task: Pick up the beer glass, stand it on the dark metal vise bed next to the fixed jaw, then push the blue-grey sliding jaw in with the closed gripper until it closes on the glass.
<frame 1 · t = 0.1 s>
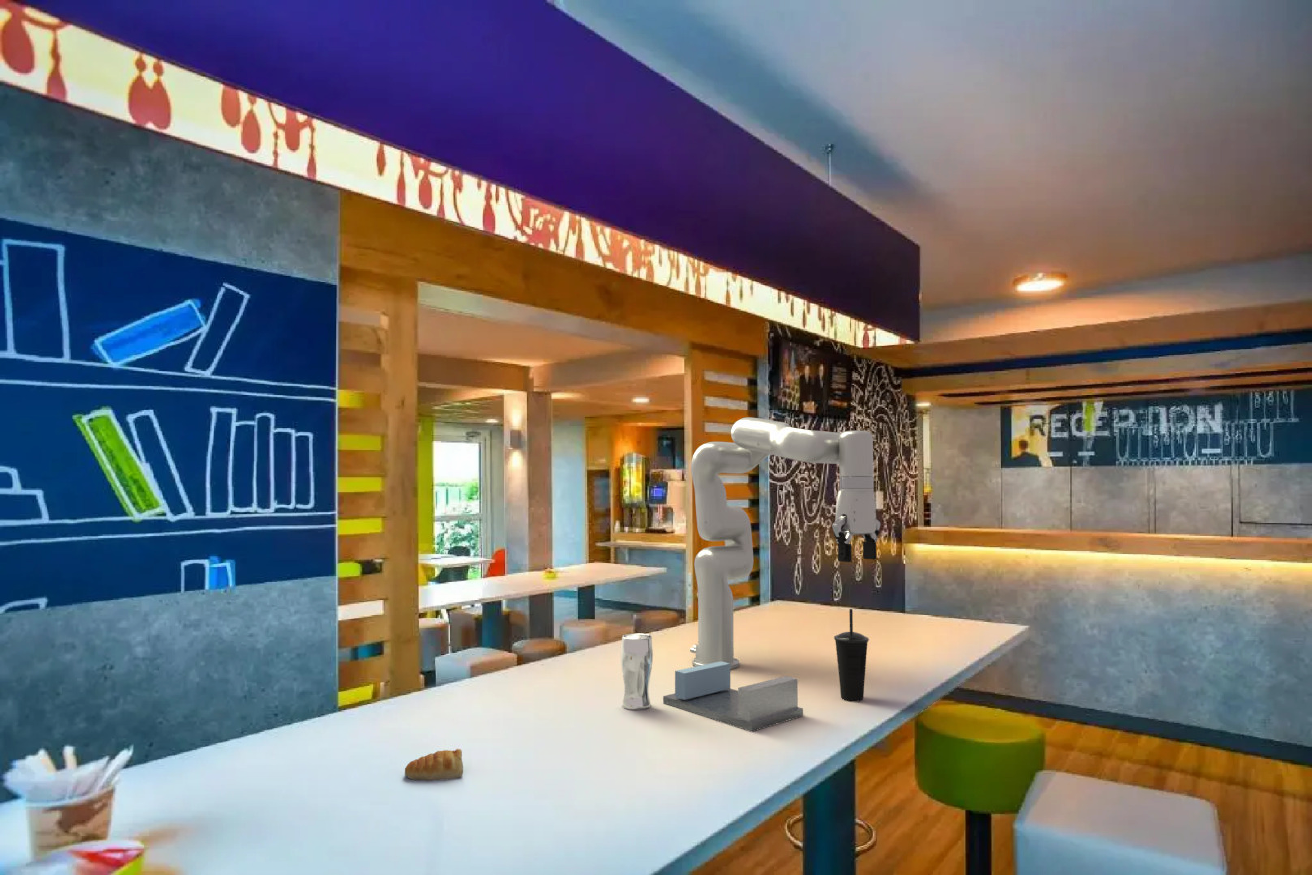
hand: (857, 560, 173), 31 cm above the table, tool pointing down, fingers open, 9 cm apart
sliding jaw: (703, 679, 170), point 5 cm above the table, slide at 0.0 cm
beer glass: (636, 707, 165), on the table
drinking cup: (852, 699, 172), on the table
vise base: (731, 709, 163), on the table
pastry: (438, 776, 126), on the table
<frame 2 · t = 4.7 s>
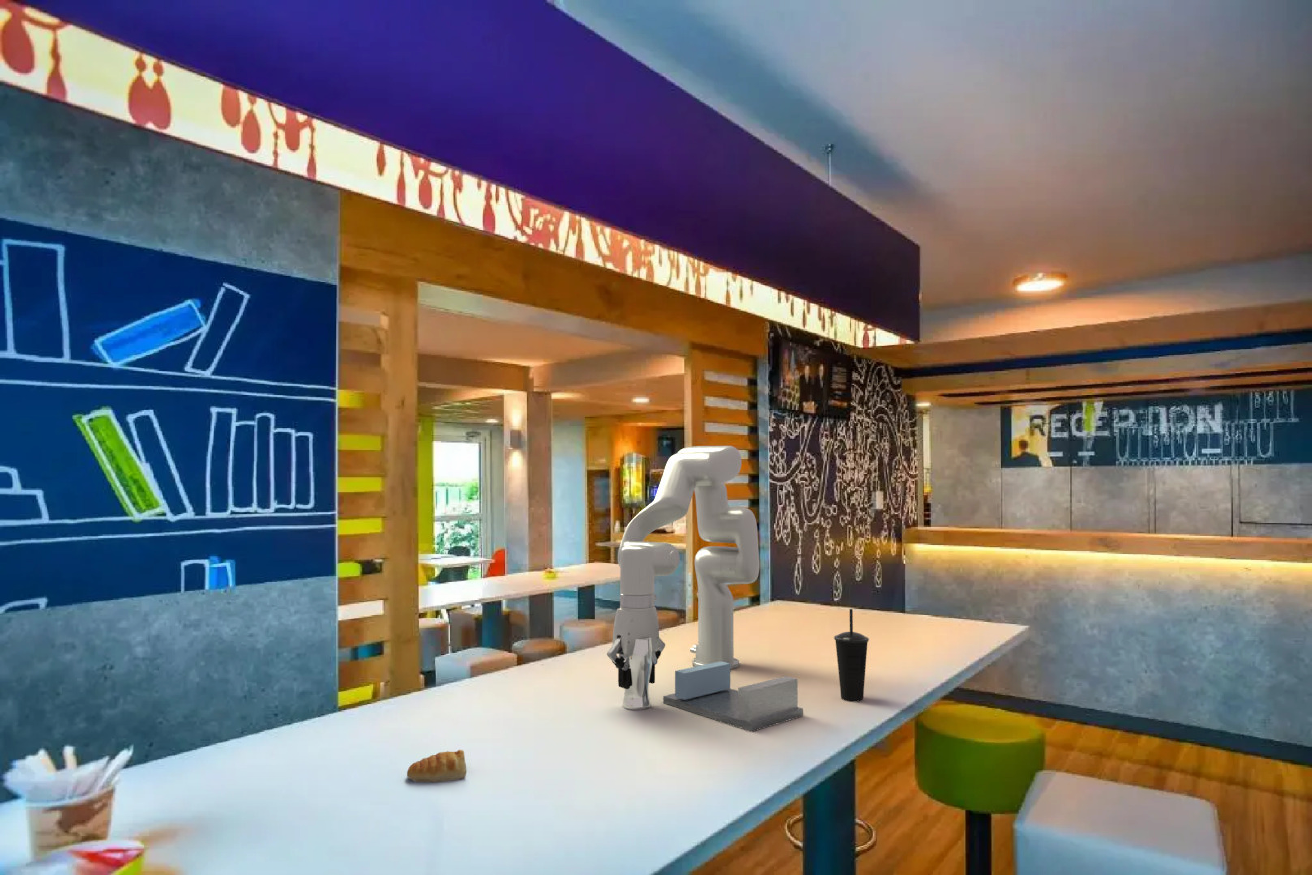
hand: (636, 684, 166), 5 cm above the table, tool pointing down, fingers closed on beer glass, 6 cm apart
beer glass: (636, 706, 165), on the table, touching gripper
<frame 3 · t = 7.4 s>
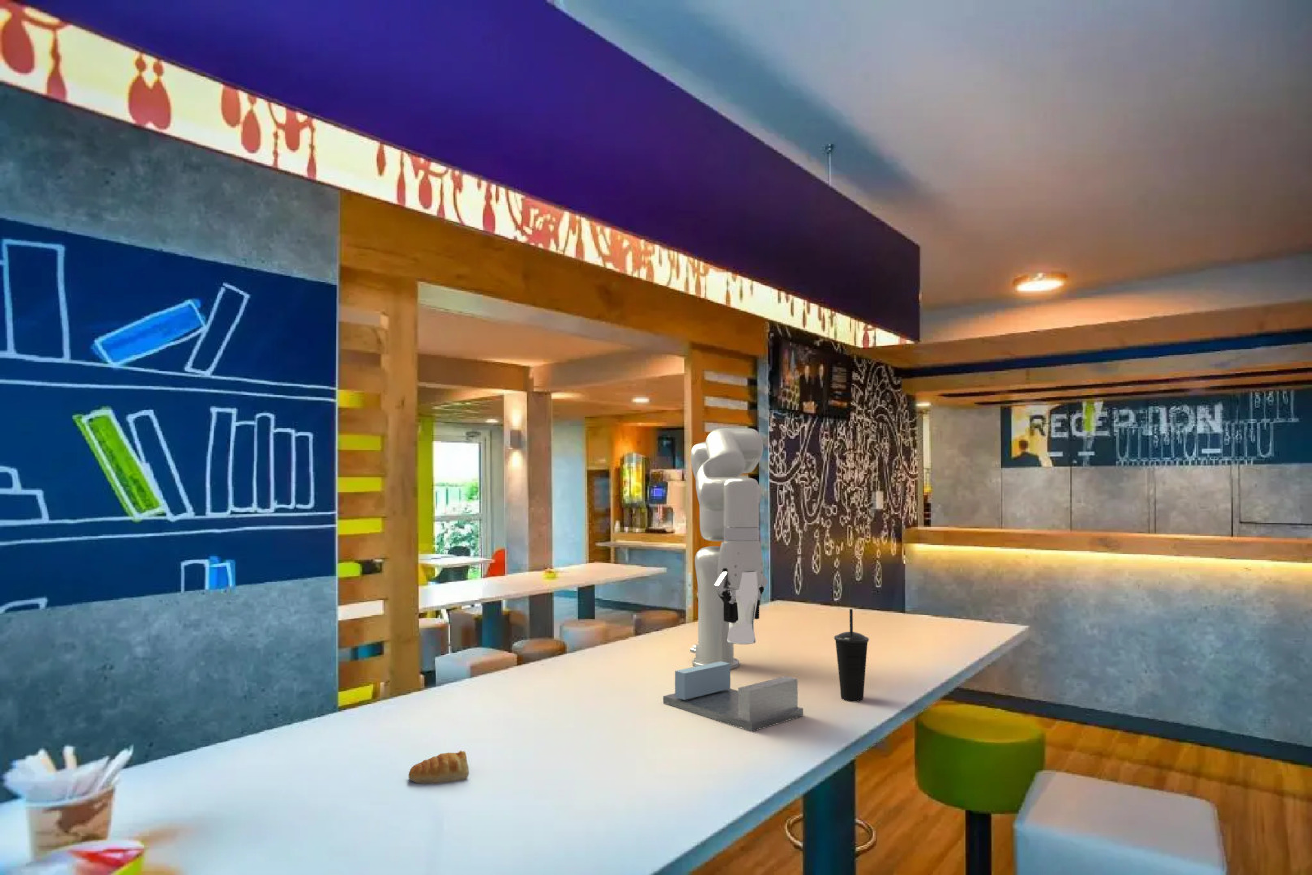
hand: (741, 619, 162), 19 cm above the table, tool pointing down, fingers closed on beer glass, 6 cm apart
beer glass: (741, 642, 162), point 15 cm above the table, touching gripper
when the fingers open (7 cm above the table, at t = 10.3 s): beer glass stays where it is, resting on vise base.
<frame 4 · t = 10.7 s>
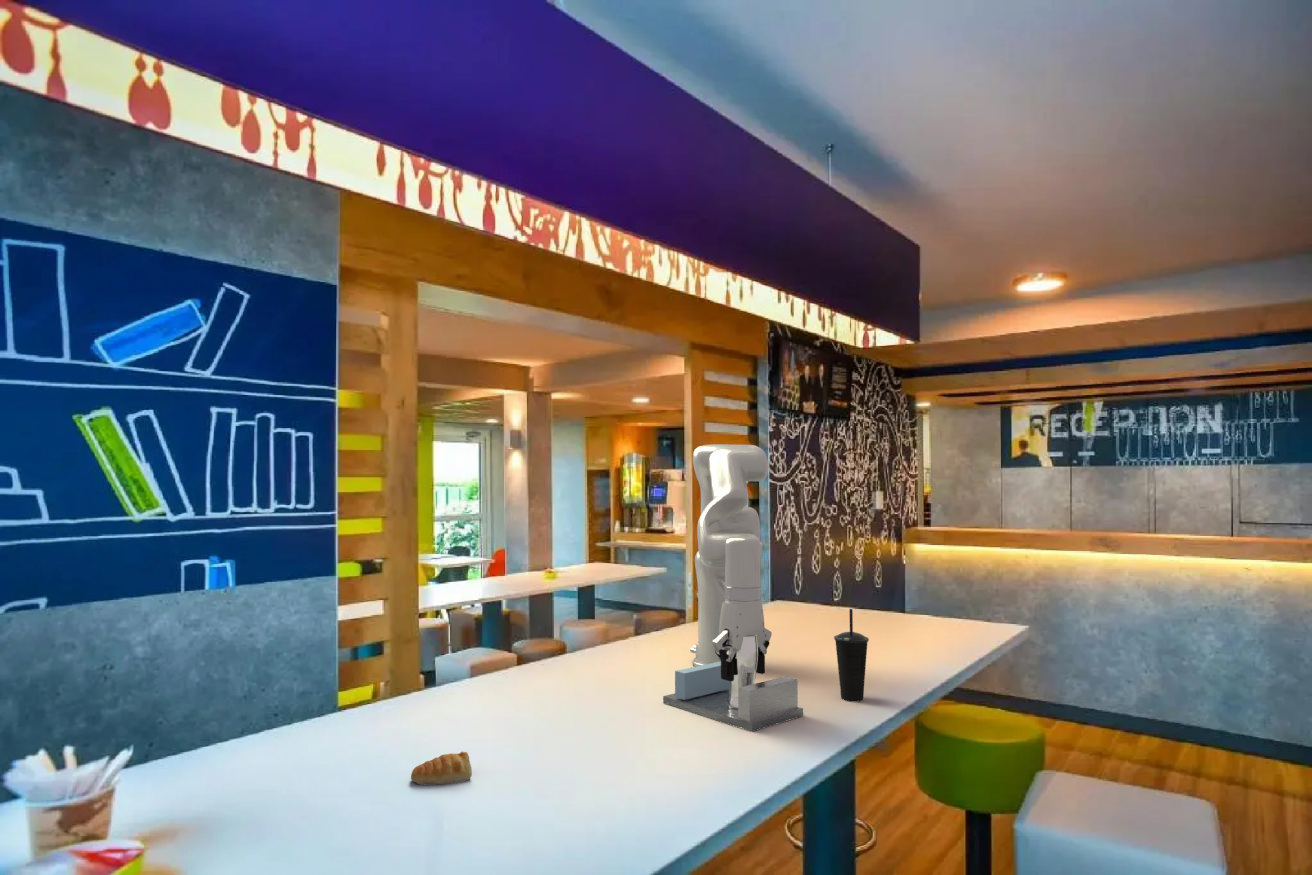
hand: (743, 676, 161), 8 cm above the table, tool pointing down, fingers open, 9 cm apart
beer glass: (741, 706, 161), point 1 cm above the table, touching vise base
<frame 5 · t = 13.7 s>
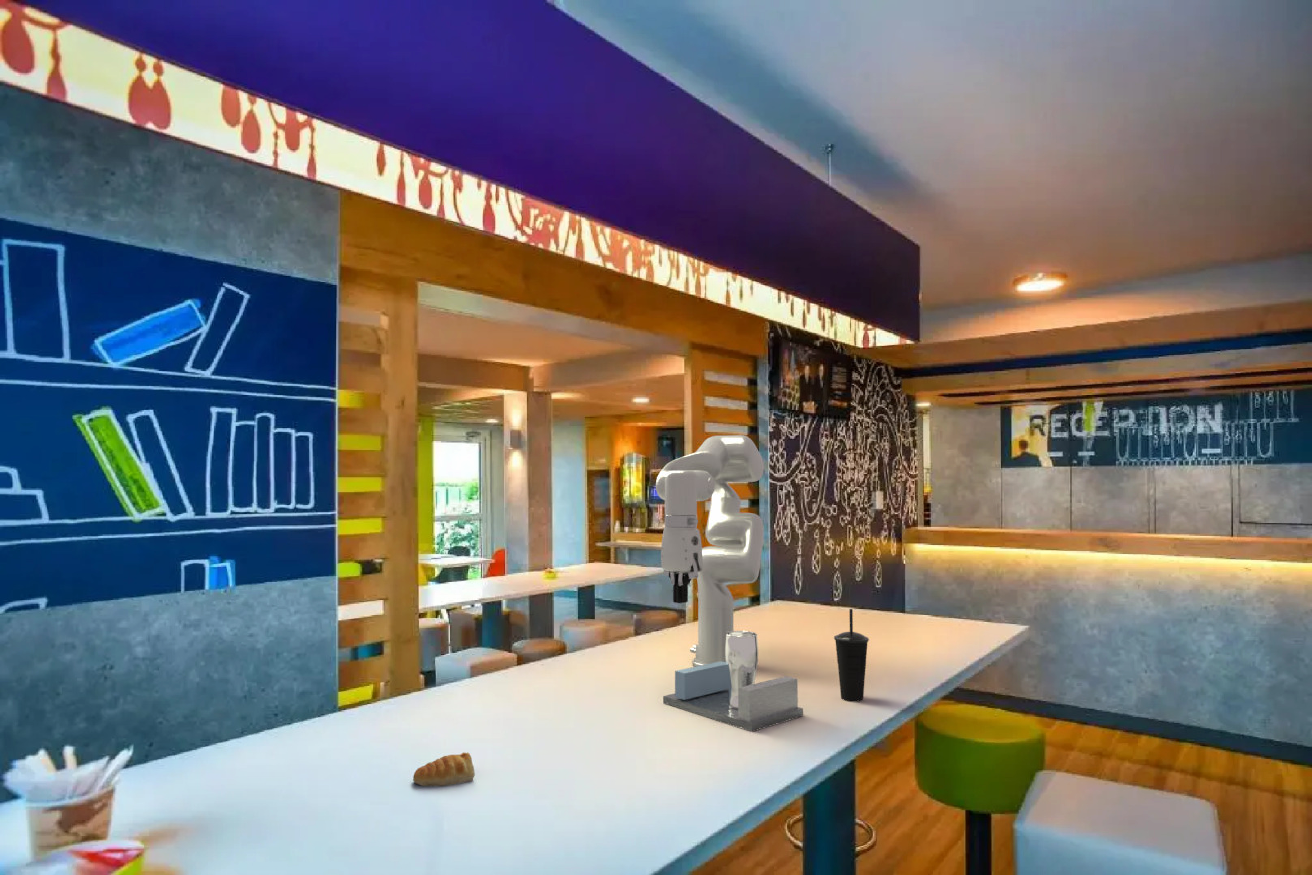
hand: (680, 602, 177), 21 cm above the table, tool pointing down, fingers closed
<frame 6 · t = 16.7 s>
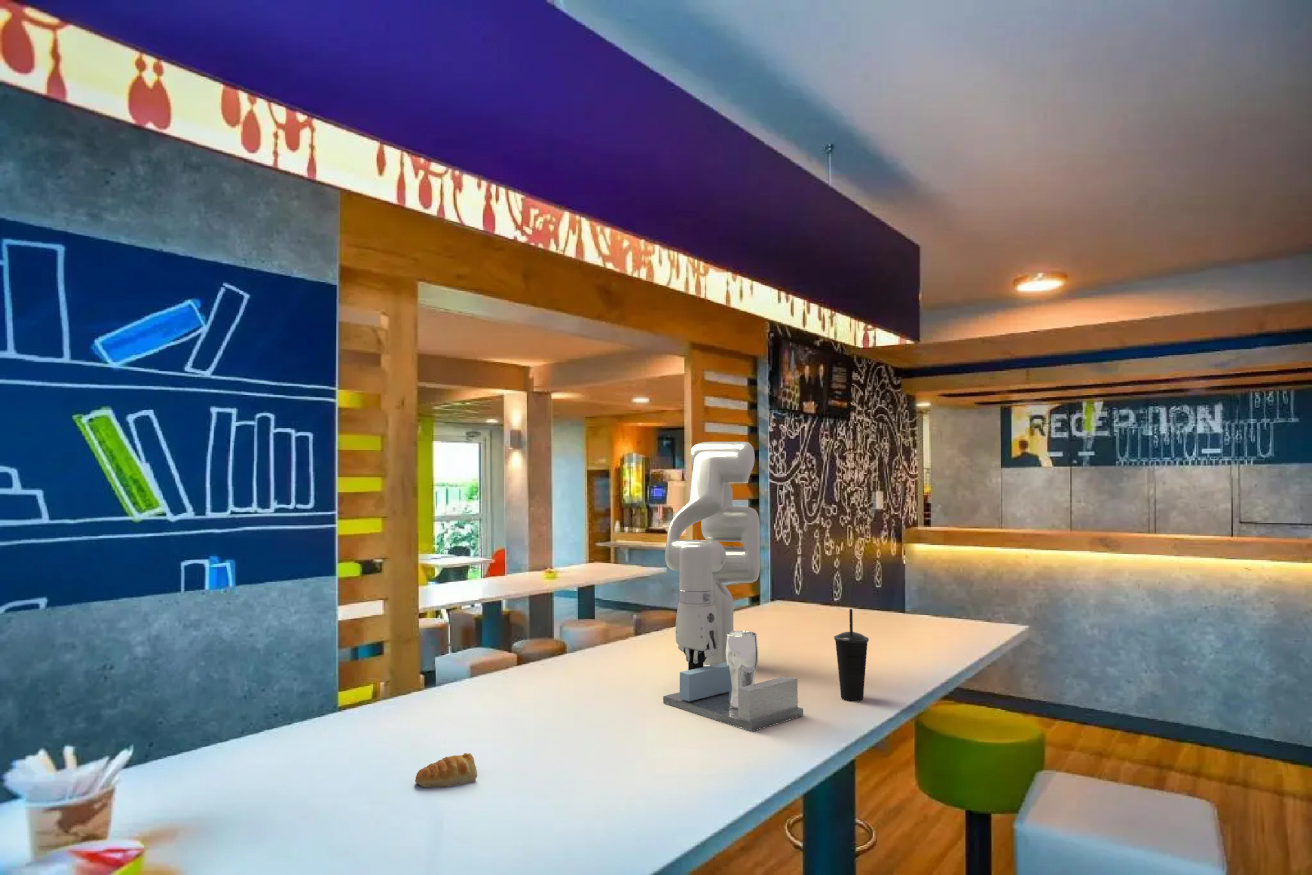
hand: (695, 679, 172), 4 cm above the table, tool pointing down, fingers closed
sliding jaw: (708, 681, 169), point 5 cm above the table, slide at 1.5 cm, touching gripper
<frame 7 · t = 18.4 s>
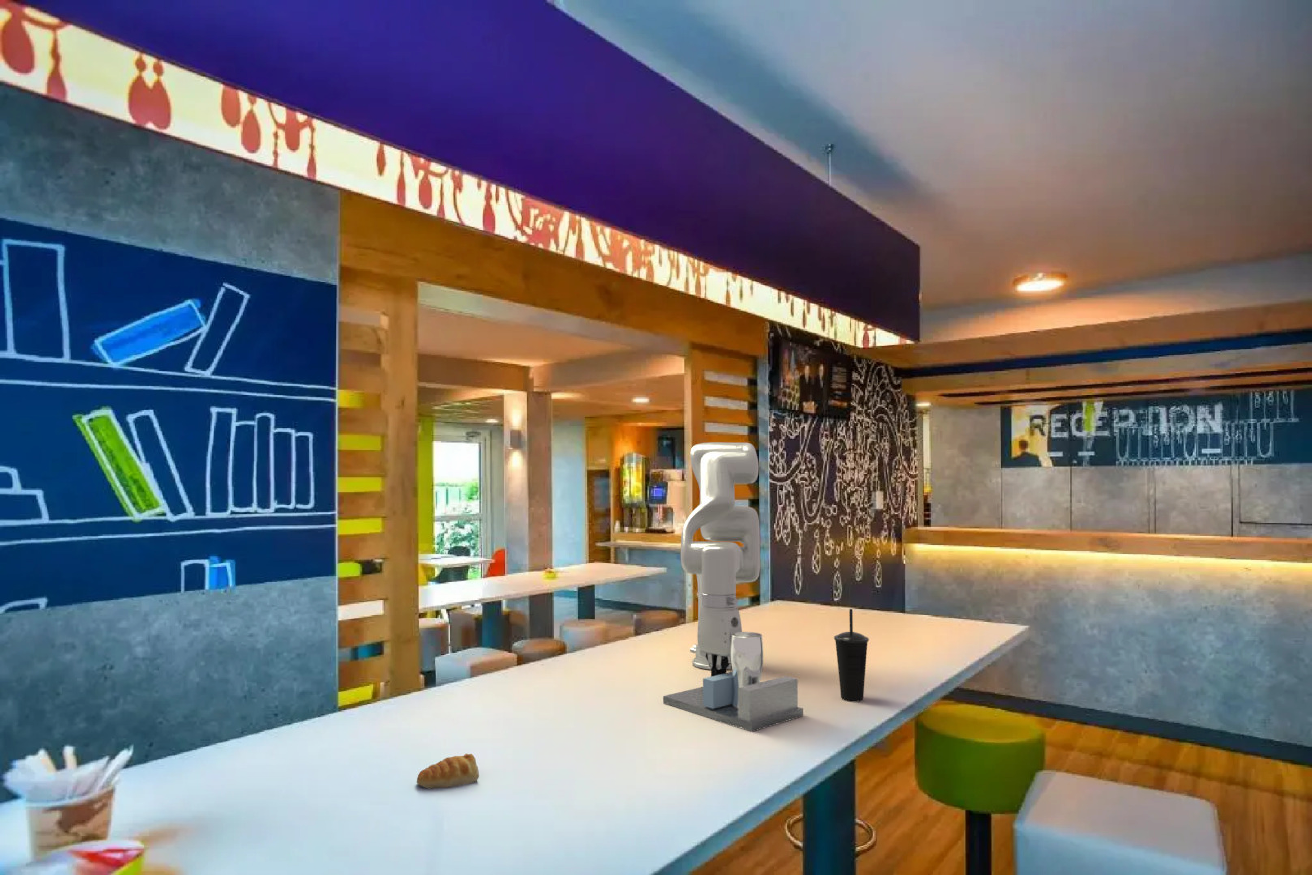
hand: (718, 686, 166), 4 cm above the table, tool pointing down, fingers closed
sliding jaw: (731, 687, 164), point 5 cm above the table, slide at 8.7 cm, touching beer glass, gripper
beer glass: (746, 707, 160), point 1 cm above the table, touching sliding jaw, vise base
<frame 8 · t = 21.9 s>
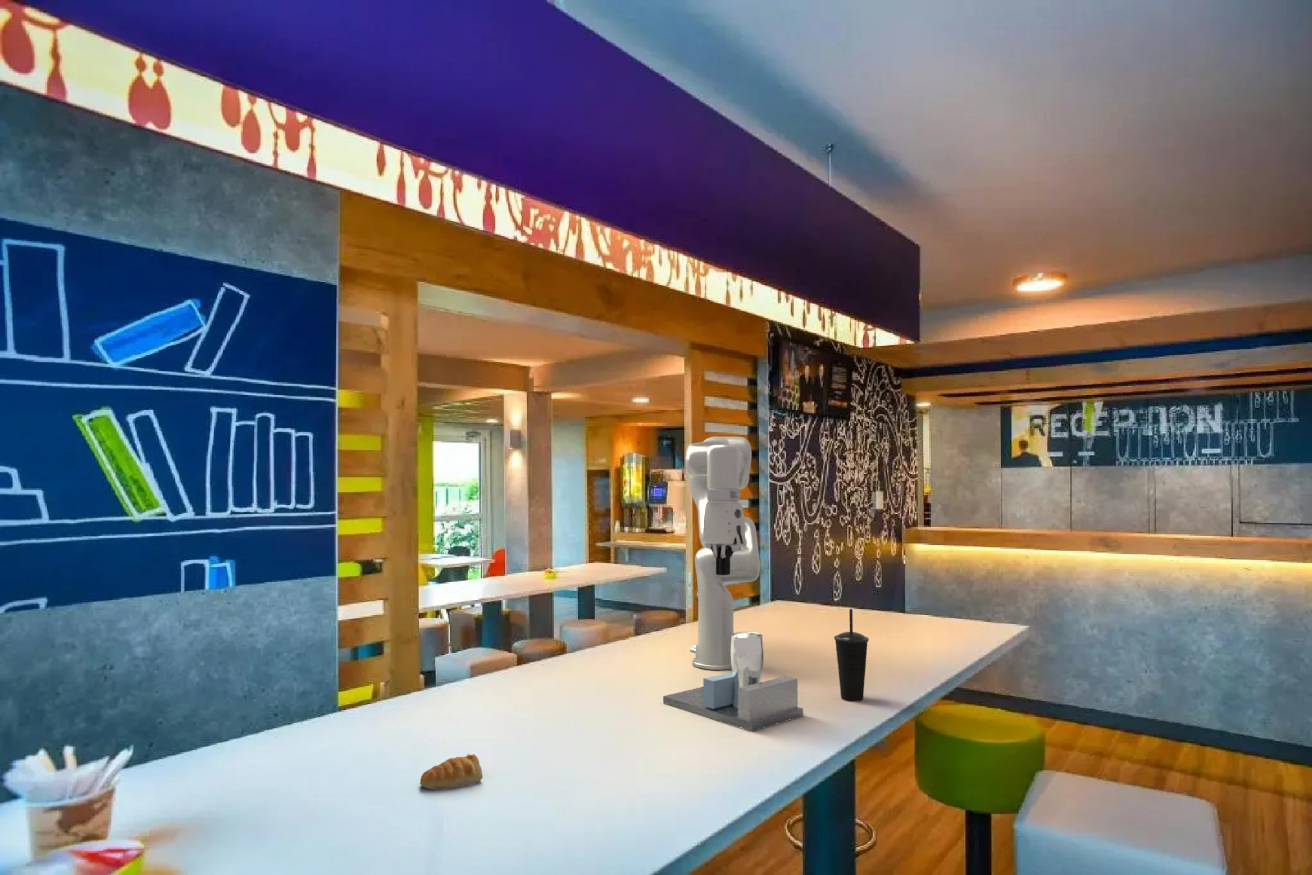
hand: (723, 574, 179), 27 cm above the table, tool pointing down, fingers closed
sliding jaw: (732, 687, 163), point 5 cm above the table, slide at 8.8 cm
beer glass: (747, 708, 160), point 1 cm above the table, touching vise base
at the end: sliding jaw slide at 8.8 cm; beer glass inside the target area (0.6 cm from its centre), point 1.3 cm above the table; beer glass tilted 0° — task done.
